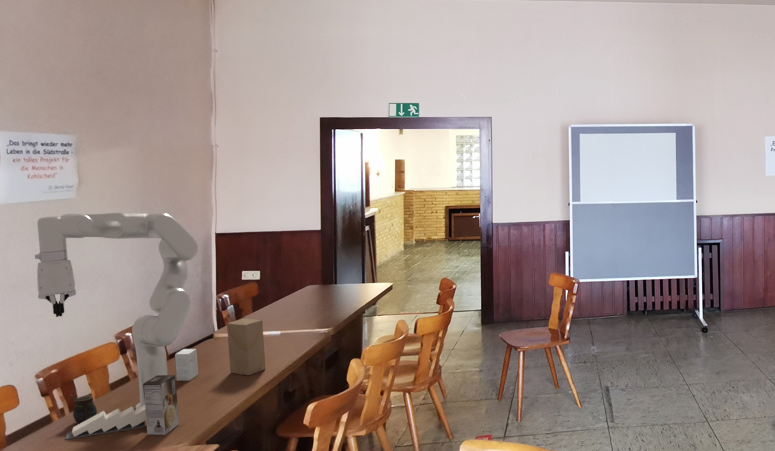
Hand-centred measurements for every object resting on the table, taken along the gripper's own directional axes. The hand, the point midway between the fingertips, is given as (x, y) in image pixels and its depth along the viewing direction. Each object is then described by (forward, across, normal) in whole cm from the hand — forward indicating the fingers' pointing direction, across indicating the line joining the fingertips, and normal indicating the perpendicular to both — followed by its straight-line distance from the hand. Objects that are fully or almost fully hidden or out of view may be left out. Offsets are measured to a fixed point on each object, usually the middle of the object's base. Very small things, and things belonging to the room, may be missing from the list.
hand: (59, 315), depth 222 cm
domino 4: (+36, +14, -3) cm, 39 cm away
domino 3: (+36, +10, -3) cm, 38 cm away
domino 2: (+36, +6, -3) cm, 37 cm away
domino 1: (+36, +2, -3) cm, 36 cm away
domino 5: (+36, +18, -3) cm, 40 cm away
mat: (+37, +11, -3) cm, 39 cm away
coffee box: (+37, +28, -11) cm, 48 cm away
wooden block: (+37, +62, +43) cm, 84 cm away
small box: (+37, +39, +46) cm, 71 cm away
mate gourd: (+37, +4, +9) cm, 39 cm away
